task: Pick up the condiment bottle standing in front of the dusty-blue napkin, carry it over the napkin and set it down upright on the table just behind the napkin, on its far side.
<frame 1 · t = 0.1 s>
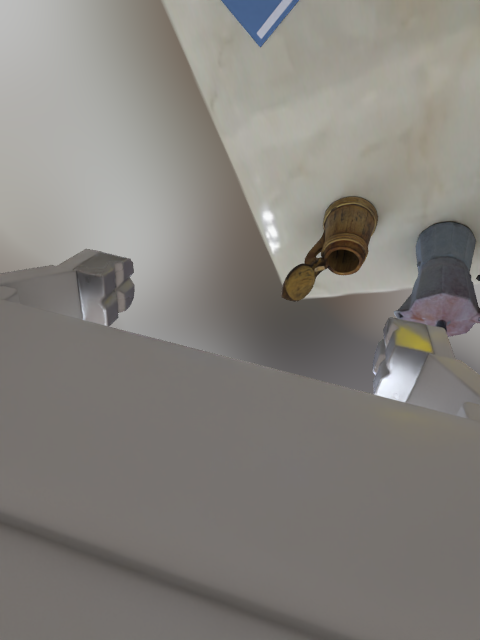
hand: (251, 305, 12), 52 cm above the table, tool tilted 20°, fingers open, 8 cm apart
moka pot: (446, 240, 66), on the table
wooden mug: (337, 221, 69), on the table
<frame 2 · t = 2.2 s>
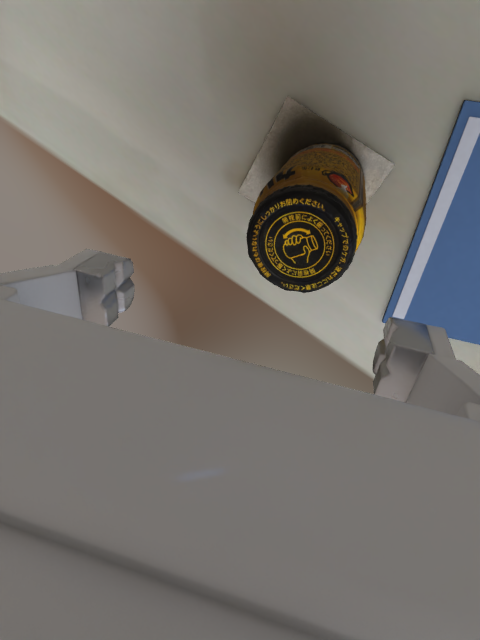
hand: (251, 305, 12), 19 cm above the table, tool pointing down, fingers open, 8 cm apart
condiment: (312, 178, 28), on the table
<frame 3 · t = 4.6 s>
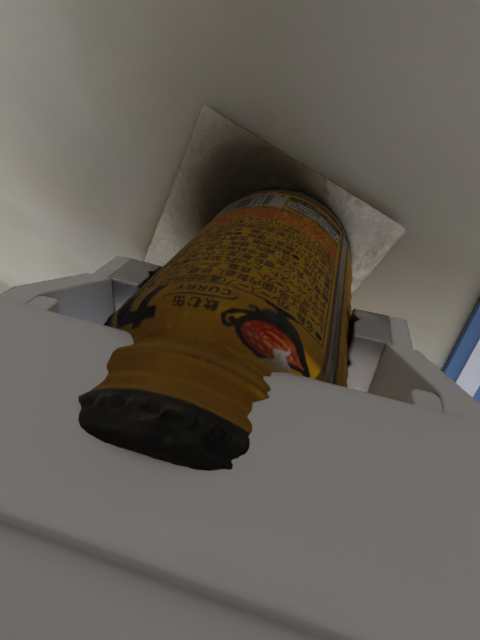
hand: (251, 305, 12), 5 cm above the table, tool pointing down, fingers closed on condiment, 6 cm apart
condiment: (261, 245, 16), on the table, touching gripper
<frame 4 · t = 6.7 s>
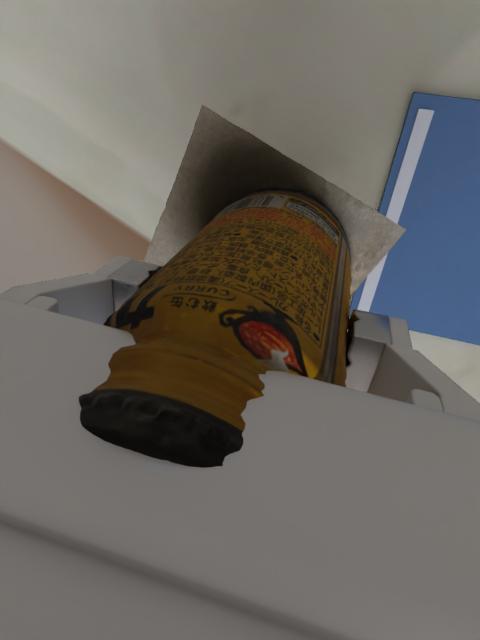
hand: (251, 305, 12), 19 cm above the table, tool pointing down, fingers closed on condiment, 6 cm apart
condiment: (260, 246, 16), point 14 cm above the table, touching gripper
napkin: (479, 238, 27), on the table
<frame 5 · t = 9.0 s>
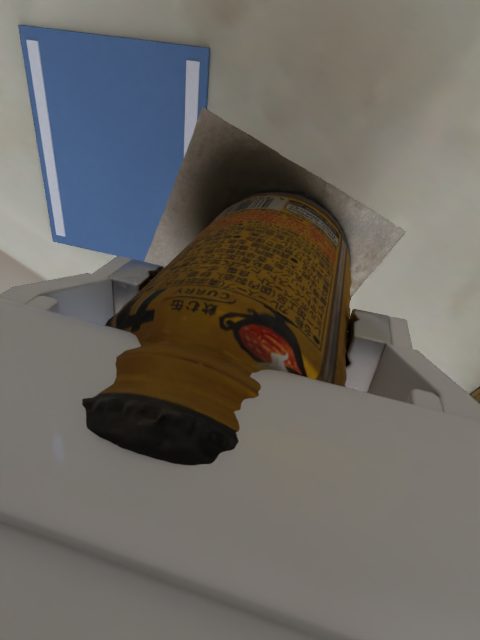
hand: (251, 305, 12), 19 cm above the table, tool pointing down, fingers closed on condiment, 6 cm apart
condiment: (260, 247, 16), point 14 cm above the table, touching gripper
napkin: (118, 161, 31), on the table
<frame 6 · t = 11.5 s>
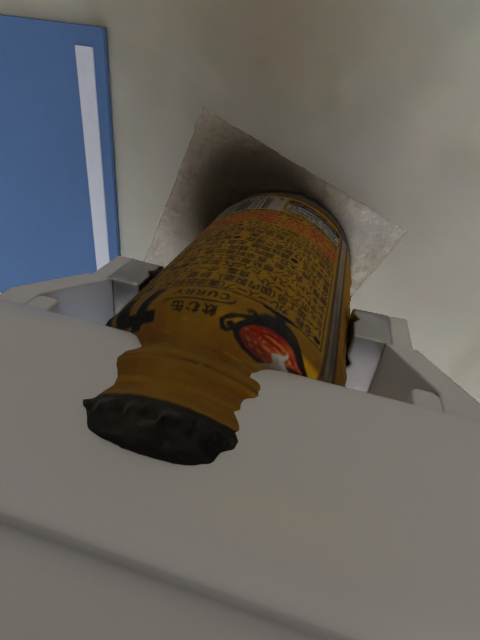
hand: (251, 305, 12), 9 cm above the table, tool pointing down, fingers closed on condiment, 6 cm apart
condiment: (260, 247, 16), point 5 cm above the table, touching gripper
napkin: (9, 181, 23), on the table
when the fingers open (4 cm above the table, at t = 13.4 s): condiment stays where it is, on the table.
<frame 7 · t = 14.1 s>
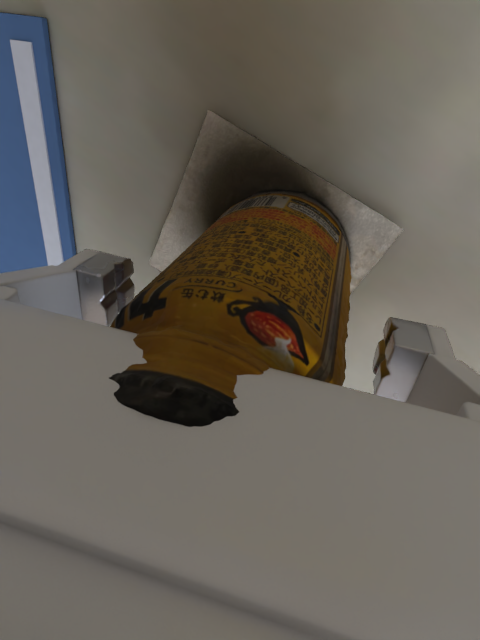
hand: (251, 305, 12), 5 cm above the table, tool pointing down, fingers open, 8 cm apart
condiment: (263, 245, 17), on the table
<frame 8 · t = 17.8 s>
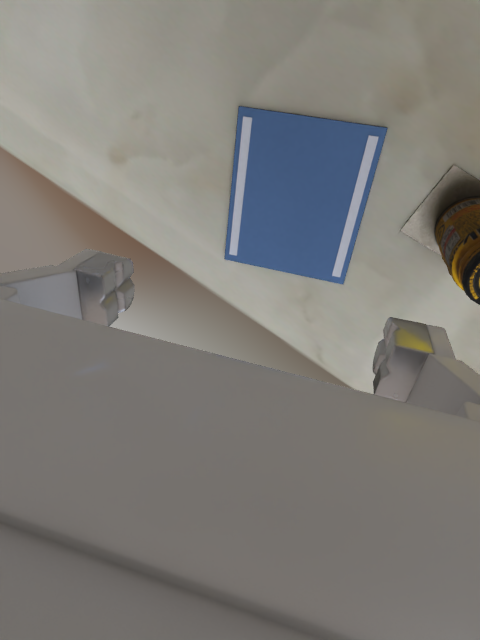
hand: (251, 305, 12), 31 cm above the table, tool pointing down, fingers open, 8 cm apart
condiment: (461, 221, 38), on the table
napkin: (295, 201, 41), on the table
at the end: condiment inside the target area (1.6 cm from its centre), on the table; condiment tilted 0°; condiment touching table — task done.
